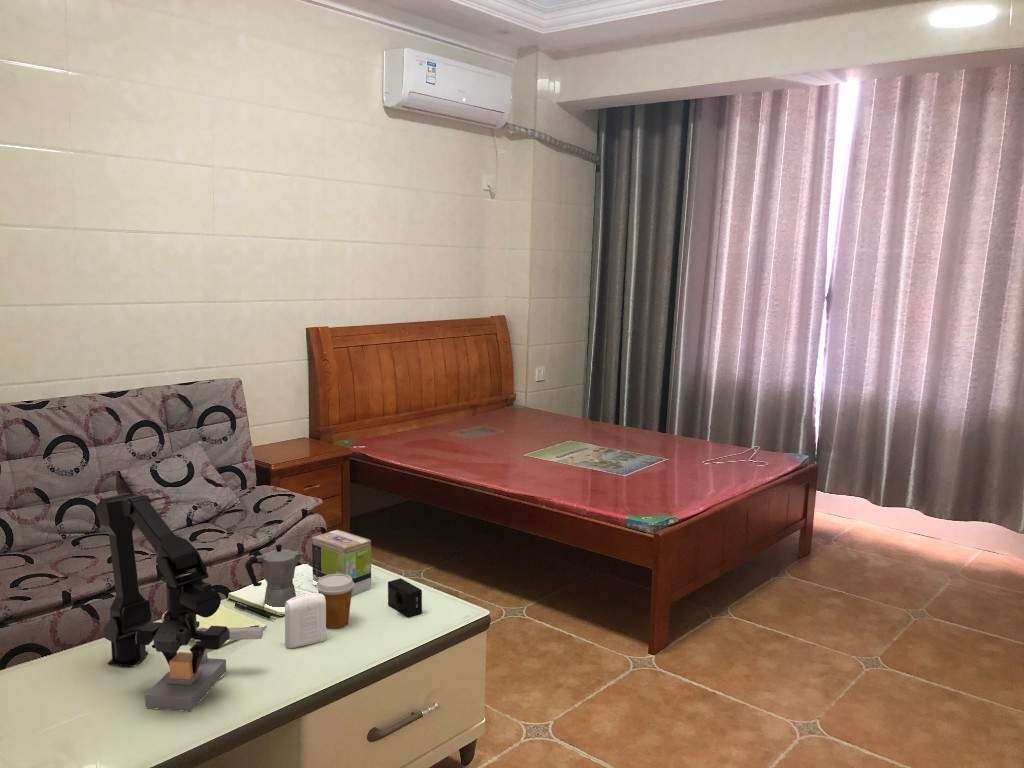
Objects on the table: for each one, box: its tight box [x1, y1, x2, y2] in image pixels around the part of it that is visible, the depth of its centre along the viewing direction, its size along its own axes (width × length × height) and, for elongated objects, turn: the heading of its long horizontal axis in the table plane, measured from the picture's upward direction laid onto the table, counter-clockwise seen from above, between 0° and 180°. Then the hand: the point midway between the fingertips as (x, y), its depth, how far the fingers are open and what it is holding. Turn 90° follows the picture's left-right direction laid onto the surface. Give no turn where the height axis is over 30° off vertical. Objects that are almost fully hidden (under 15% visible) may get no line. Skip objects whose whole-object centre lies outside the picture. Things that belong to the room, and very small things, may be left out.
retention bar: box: [197, 626, 264, 641], centre depth 190 cm, size 3×15×2 cm, turn 96°
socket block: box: [144, 649, 227, 712], centre depth 183 cm, size 10×17×8 cm, turn 174°
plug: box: [167, 651, 203, 685], centre depth 182 cm, size 5×5×8 cm
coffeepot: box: [244, 544, 305, 607], centre depth 224 cm, size 15×9×18 cm, turn 117°
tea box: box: [311, 529, 372, 597], centre depth 240 cm, size 15×10×15 cm, turn 51°
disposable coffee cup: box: [315, 574, 354, 630], centre depth 216 cm, size 10×10×12 cm
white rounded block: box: [284, 592, 327, 649], centre depth 206 cm, size 10×4×12 cm, turn 123°
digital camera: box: [387, 578, 423, 619], centre depth 226 cm, size 10×5×7 cm, turn 40°
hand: (184, 672), depth 182 cm, fingers closed on plug, 4 cm apart
